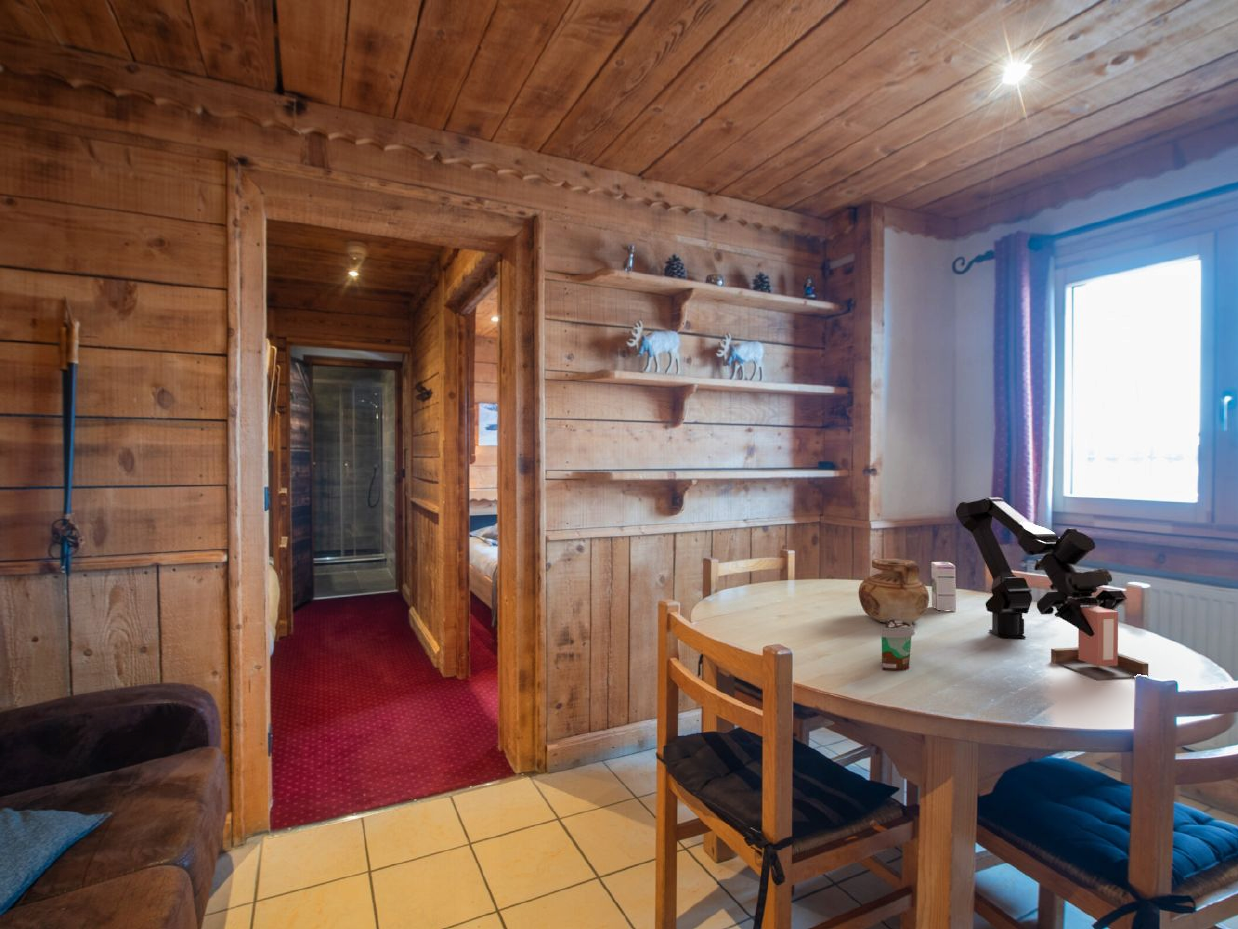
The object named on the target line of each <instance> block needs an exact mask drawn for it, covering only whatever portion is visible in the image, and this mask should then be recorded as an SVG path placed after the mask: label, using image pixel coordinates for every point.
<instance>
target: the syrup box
mask: <svg viewBox="0 0 1238 929" xmlns="http://www.w3.org/2000/svg"><path fill="white" fill-rule="evenodd" d="M956 586H957V584H956V565H954V564H953V563H951V562H949V561H932V562H931V607H932V606H933V607H935V608H936V609H937V610H950V611H956V612H957V592H956V591H957V589H956V588H957V587H956ZM933 607H932V608H933ZM936 609H935V610H936ZM937 610H936V611H937Z"/></svg>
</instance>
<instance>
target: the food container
mask: <svg viewBox="0 0 1238 929" xmlns="http://www.w3.org/2000/svg"><path fill="white" fill-rule="evenodd" d="M880 632H881V633H880V638H881V662H882V663H881V668H882V671H887V672H903V671H907V670H909V669H910V662H911V661H910V659H911V648H912V637H913V636H915V635H916V632H915V628H914V625H913V622H912V623H911V622H910V621H908V620H905V619H902V618H898V617H891V616H890V621H889V623H886V624H885V626H884V627H881V629H880Z"/></svg>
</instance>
